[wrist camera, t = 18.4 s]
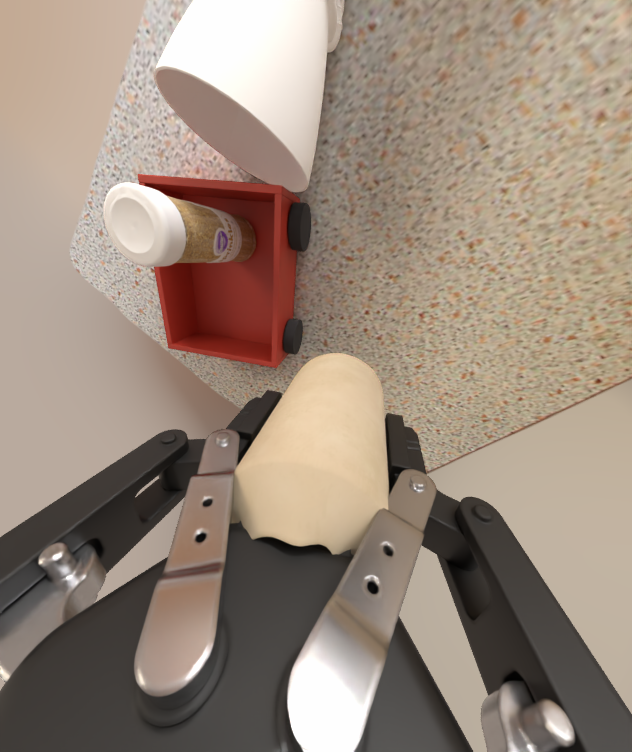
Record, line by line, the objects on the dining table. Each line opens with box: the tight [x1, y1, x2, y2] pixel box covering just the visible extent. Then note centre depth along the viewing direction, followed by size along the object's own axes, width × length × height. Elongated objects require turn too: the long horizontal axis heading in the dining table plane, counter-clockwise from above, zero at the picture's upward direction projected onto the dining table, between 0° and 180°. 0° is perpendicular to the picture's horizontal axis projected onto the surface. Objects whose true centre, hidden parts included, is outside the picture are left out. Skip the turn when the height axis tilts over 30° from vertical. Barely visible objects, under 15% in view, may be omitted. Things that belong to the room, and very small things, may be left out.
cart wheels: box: [283, 202, 311, 354], centre depth 28 cm, size 15×16×4 cm
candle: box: [232, 353, 389, 555], centre depth 11 cm, size 6×6×10 cm
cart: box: [138, 174, 300, 368], centre depth 27 cm, size 16×13×6 cm
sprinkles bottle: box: [104, 183, 256, 267], centre depth 21 cm, size 5×5×14 cm
